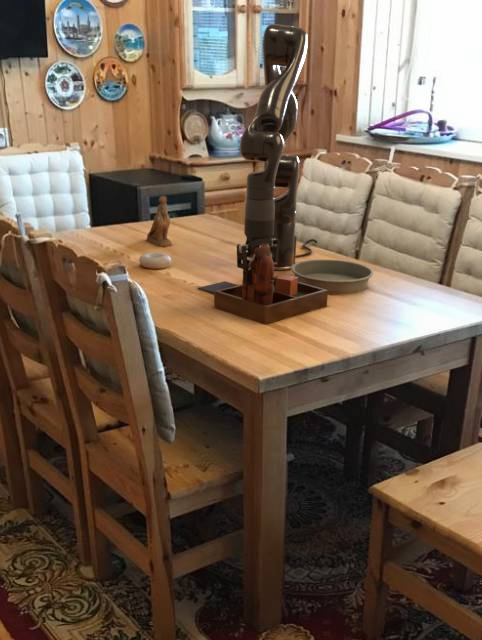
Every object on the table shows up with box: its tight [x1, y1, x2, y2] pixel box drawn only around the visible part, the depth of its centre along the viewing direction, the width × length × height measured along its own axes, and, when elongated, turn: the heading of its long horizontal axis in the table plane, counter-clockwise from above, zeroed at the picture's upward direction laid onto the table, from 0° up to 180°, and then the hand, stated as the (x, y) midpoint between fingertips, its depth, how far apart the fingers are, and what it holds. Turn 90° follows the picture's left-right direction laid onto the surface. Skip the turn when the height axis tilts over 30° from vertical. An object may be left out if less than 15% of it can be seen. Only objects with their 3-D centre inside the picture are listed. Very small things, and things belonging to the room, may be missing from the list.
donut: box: [138, 252, 172, 270], centre depth 255 cm, size 10×3×10 cm
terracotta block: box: [276, 274, 298, 296], centre depth 224 cm, size 4×4×4 cm
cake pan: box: [290, 259, 374, 295], centre depth 244 cm, size 25×25×4 cm
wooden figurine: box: [241, 243, 275, 306], centre depth 214 cm, size 12×6×18 cm, turn 31°
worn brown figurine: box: [146, 194, 172, 247], centre depth 279 cm, size 12×6×18 cm, turn 26°
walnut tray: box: [213, 275, 329, 325], centre depth 221 cm, size 25×19×4 cm
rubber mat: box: [197, 280, 238, 295], centre depth 235 cm, size 11×11×1 cm
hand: (257, 281), depth 215 cm, fingers closed on wooden figurine, 6 cm apart
